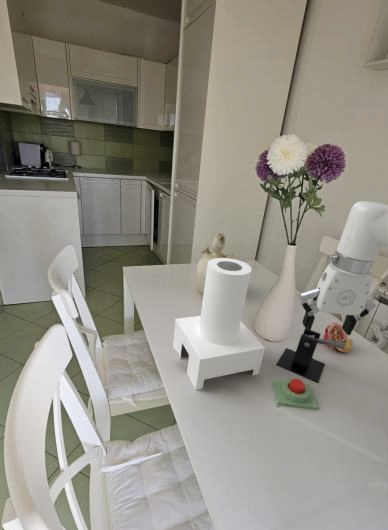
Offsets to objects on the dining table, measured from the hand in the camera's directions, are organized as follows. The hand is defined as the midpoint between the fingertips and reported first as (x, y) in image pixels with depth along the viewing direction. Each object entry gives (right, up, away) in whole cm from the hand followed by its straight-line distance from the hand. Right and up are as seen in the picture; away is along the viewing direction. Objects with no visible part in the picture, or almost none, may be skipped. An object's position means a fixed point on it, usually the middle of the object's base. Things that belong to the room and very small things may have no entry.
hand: (326, 329), depth 72 cm
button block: (-6, -19, +7) cm, 21 cm away
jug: (-24, +10, +58) cm, 63 cm away
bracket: (0, -13, +19) cm, 23 cm away
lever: (+5, -6, +12) cm, 14 cm away
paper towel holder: (-26, -11, +17) cm, 33 cm away
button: (-5, -16, +6) cm, 17 cm away
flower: (+15, -10, +29) cm, 34 cm away
